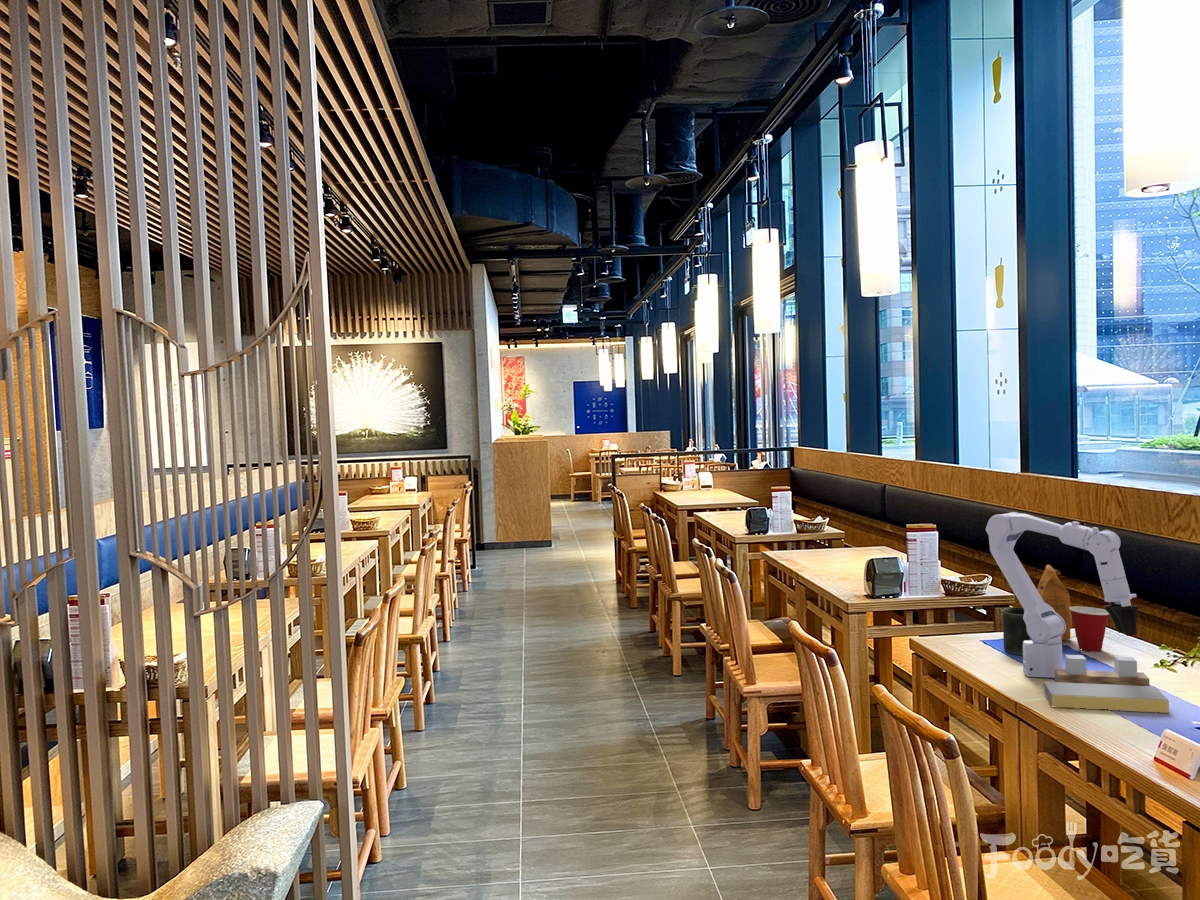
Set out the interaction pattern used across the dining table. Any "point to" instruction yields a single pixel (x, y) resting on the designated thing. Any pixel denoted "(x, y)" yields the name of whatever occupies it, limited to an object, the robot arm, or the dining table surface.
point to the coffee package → (1056, 597)
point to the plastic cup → (1089, 627)
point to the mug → (1014, 630)
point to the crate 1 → (1075, 664)
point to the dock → (1106, 697)
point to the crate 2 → (1125, 666)
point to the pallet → (1101, 678)
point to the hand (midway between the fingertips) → (1127, 633)
